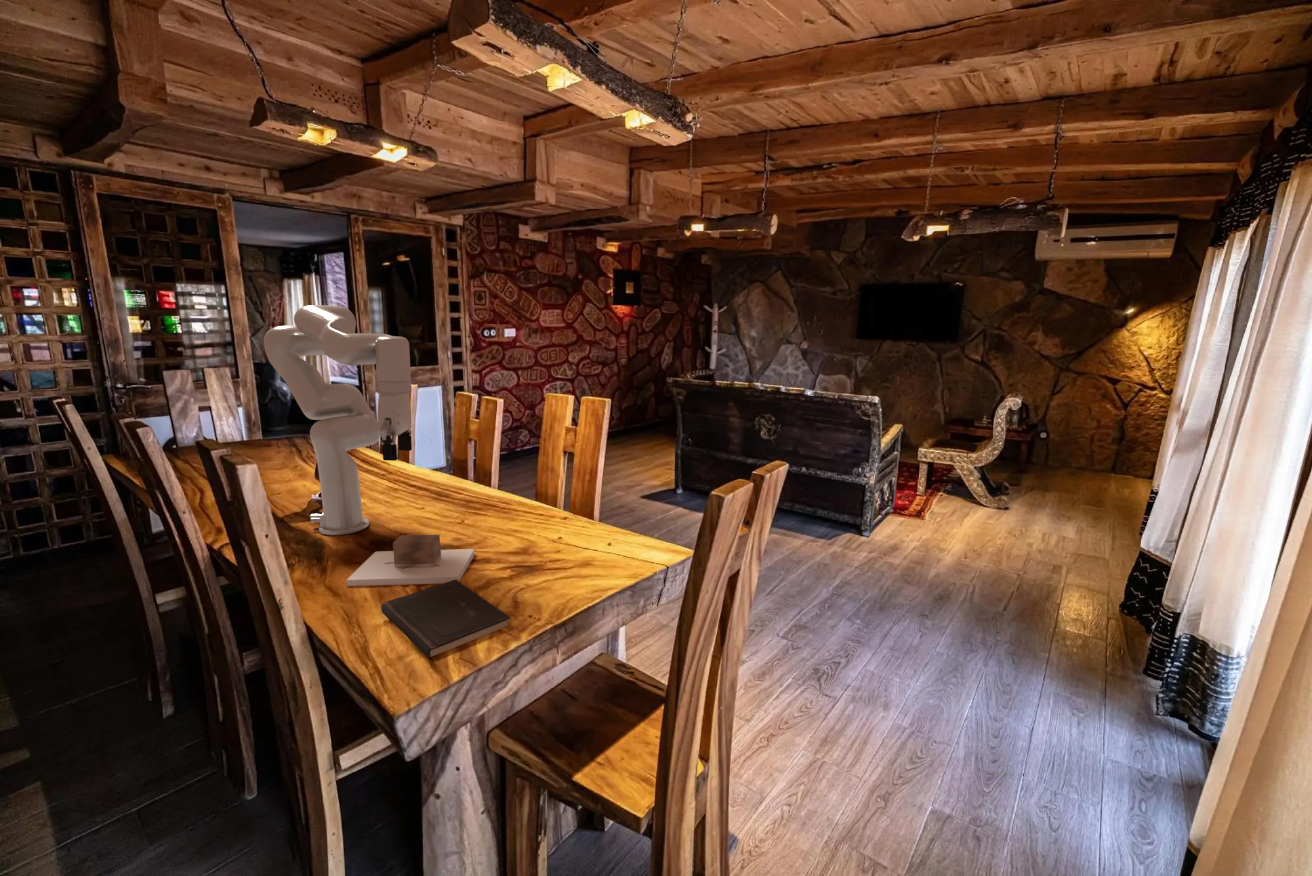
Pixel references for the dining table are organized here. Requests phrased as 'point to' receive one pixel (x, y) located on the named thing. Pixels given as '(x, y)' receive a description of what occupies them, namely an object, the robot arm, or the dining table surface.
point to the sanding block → (417, 551)
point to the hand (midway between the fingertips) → (398, 455)
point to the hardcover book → (444, 617)
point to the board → (411, 570)
